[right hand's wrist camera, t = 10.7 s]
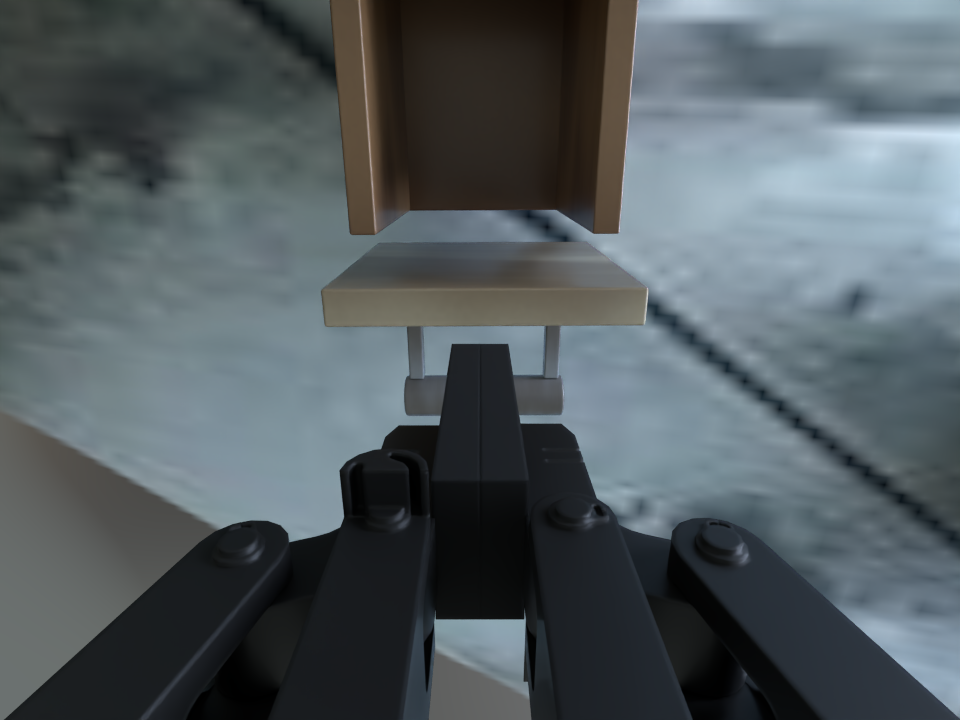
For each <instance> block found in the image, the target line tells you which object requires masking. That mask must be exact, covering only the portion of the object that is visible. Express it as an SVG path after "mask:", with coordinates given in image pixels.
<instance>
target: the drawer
mask: <svg viewBox="0 0 960 720" xmlns="http://www.w3.org/2000/svg"><path fill="white" fill-rule="evenodd" d="M638 1H639V0H330V11H331V22H332V34H333V45H334V57H335V68H336V80H337V91H338V103H339V114H340V126H341V137H342V149H343V160H344V172H345V183H346V195H347V206H348V218H349V229H350V234H351V235H375V234H377V233H378V232H380V231H381V230H383V229H384V228H385V227H387V226H388V225H390V224H391V223H393V222H394V221H395V220H397V219H398V218H400V217H401V216H402V215H404V214H405V213H407V212H408V211H427V210H558V211H559V212H561V213H562V214H564V215H565V216H567V217H568V218H570V219H572V220H573V221H575V222H576V223H578V224H579V225H581V226H583V227H584V228H586V229H587V230H589V231H590V232H592V233H594V234H618V233H619V231H620V219H621V207H622V195H623V183H624V171H625V159H626V147H627V135H628V122H629V110H630V98H631V86H632V74H633V62H634V50H635V38H636V25H637V13H638ZM648 291H649V289H648V287H646V286H645V285H644V284H642V283H641V282H640V281H638V280H637V279H636V278H634V277H633V276H632V275H630V274H629V273H628V272H626V271H625V270H624V269H622V268H621V267H620V266H618V265H617V264H616V263H614V262H613V261H612V260H610V259H609V258H608V257H607V256H605V255H604V254H603V253H601V252H600V251H599V250H597V249H596V248H595V247H593V246H592V245H591V244H589V243H588V242H464V243H378V244H377V245H376V246H375V247H373V248H372V249H371V250H370V251H368V252H367V253H366V254H365V255H364V256H362V257H361V258H360V259H359V260H357V261H356V262H355V263H354V264H352V265H351V266H350V267H349V268H348V269H346V270H345V271H344V272H343V273H341V274H340V275H339V276H338V277H336V278H335V279H334V280H333V281H332V282H330V283H329V284H328V285H327V286H325V287H324V288H323V289H322V290H321V295H322V305H323V314H324V323H325V326H327V327H392V326H407V336H408V354H409V373H410V376H407V377H406V380H405V388H404V404H405V412H406V414H407V415H408V416H441V411H442V405H443V398H444V392H445V385H446V379H447V375H425V358H424V335H423V326H544V353H543V375H513V379H514V385H515V392H516V398H517V405H518V411H519V415H561V414H562V412H563V408H564V385H563V379H562V377H561V375H558V374H559V353H560V333H561V326H590V325H644V324H645V319H646V310H647V300H648Z"/></svg>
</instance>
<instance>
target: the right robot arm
mask: <svg viewBox="0 0 960 720" xmlns="http://www.w3.org/2000/svg"><path fill="white" fill-rule="evenodd" d="M340 480H341V490H342V500H343V509H344V519H343V522H342V525H341V527H340V528H338V529H336V530H334V531H332V532H329V533H327V534H323V535H320V536H316V537H312V538H307V539H303V540H298V541H293V542H289V538H288V533H287V532H286V531H285V530H284V529H283V528H282V527H281V525H278V524H275V523H272V522H269V521H246V522H240V523H236V524H232V525H230V526H227V527H225V528H222V529H220V530H218V531H215V532H214V533H212V534H211V535H209V536H208V537H207V538H205V539H204V540H202V541H201V542H199V543H198V544H197V545H196V546H195V547H194V548H193V549H192V550H191V551H190V552H188V553H187V554H186V555H185V556H184V557H183V558H182V559H181V560H180V561H179V562H177V563H176V564H175V565H174V566H173V567H172V568H171V569H170V570H169V571H168V572H166V573H165V574H164V575H163V576H162V577H161V578H160V579H159V580H158V581H157V582H155V583H154V584H153V585H152V586H151V587H150V588H149V589H148V590H147V591H146V592H144V593H143V594H142V595H141V596H140V597H139V598H138V599H137V600H136V601H134V602H133V603H132V604H131V605H130V606H129V607H128V608H127V609H126V610H125V611H123V612H122V613H121V614H120V615H119V616H118V617H117V618H116V619H115V620H114V621H112V622H111V623H110V624H109V625H108V626H107V627H106V628H105V629H104V630H103V631H101V632H100V633H99V634H98V635H97V636H96V637H95V638H94V639H93V640H92V641H90V642H89V643H88V644H87V645H86V646H85V647H84V648H83V649H82V650H81V651H79V652H78V653H77V654H76V655H75V656H74V657H73V658H72V659H71V660H69V661H68V662H67V663H66V664H65V665H64V666H63V667H62V668H61V669H60V670H58V671H57V672H56V673H55V674H54V675H53V676H52V677H51V678H50V679H49V680H47V681H46V682H45V683H44V684H43V685H42V686H41V687H40V688H39V689H38V690H36V691H35V692H34V693H33V694H32V695H31V696H30V697H29V698H28V699H27V700H25V701H24V702H23V703H22V704H21V705H20V706H19V707H18V708H17V709H15V710H14V711H13V712H12V713H11V714H10V715H9V716H8V717H7V718H6V719H4V720H429V708H430V697H431V686H432V675H433V664H434V653H435V632H434V619H435V610H436V619H524V610H525V616H526V632H525V659H524V682H528V685H529V697H530V708H531V718H532V720H960V719H959V718H958V717H957V716H956V715H955V714H954V713H953V712H952V711H950V710H949V709H948V708H947V707H946V706H945V705H944V704H943V703H942V702H940V701H939V700H938V699H937V698H936V697H935V696H934V695H933V694H932V693H930V692H929V691H928V690H927V689H926V688H925V687H924V686H923V685H922V684H920V683H919V682H918V681H917V680H916V679H915V678H914V677H913V676H912V675H910V674H909V673H908V672H907V671H906V670H905V669H904V668H903V667H902V666H900V665H899V664H898V663H897V662H896V661H895V660H894V659H893V658H892V657H890V656H889V655H888V654H887V653H886V652H885V651H884V650H883V649H882V648H880V647H879V646H878V645H877V644H876V643H875V642H874V641H873V640H872V639H870V638H869V637H868V636H867V635H866V634H865V633H864V632H863V631H862V630H860V629H859V628H858V627H857V626H856V625H855V624H854V623H853V622H852V621H851V620H849V619H848V618H847V617H846V616H845V615H844V614H843V613H842V612H841V611H839V610H838V609H837V608H836V607H835V606H834V605H833V604H832V603H831V602H829V601H828V600H827V599H826V598H825V597H824V596H823V595H822V594H821V593H819V592H818V591H817V590H816V589H815V588H814V587H813V586H812V585H811V584H809V583H808V582H807V581H806V580H805V579H804V578H803V577H802V576H801V575H799V574H798V573H797V572H796V571H795V570H794V569H793V568H792V567H791V566H789V565H788V564H787V563H786V562H785V561H784V560H783V559H782V558H781V557H779V556H778V555H777V554H776V553H775V552H774V551H773V550H772V549H771V548H769V547H768V546H767V545H766V544H765V543H764V542H763V541H762V540H761V539H759V538H758V537H756V536H755V535H753V534H752V533H750V532H749V531H748V530H746V529H744V528H742V527H739V526H737V525H734V524H732V523H729V522H726V521H722V520H717V519H711V518H695V519H690V520H687V521H684V522H681V523H679V524H678V526H677V527H676V528H675V529H674V530H673V531H672V538H671V540H668V539H664V538H659V537H654V536H650V535H645V534H642V533H638V532H635V531H631V530H629V529H627V528H625V527H622V526H620V525H619V524H618V521H617V518H616V516H615V515H614V513H613V512H612V510H611V509H610V508H609V506H607V505H606V504H604V503H603V502H601V501H600V500H598V499H597V498H596V495H595V492H594V489H593V486H592V483H591V481H590V478H589V475H588V472H587V469H586V466H585V463H584V462H583V457H582V455H581V452H580V451H579V446H578V443H577V440H576V437H575V435H574V434H573V433H572V432H570V431H569V430H568V429H567V428H566V427H564V426H563V425H562V424H520V418H519V411H518V405H517V398H516V392H515V385H514V379H513V372H512V366H511V360H510V353H509V347H508V344H452V347H451V353H450V360H449V366H448V372H447V379H446V385H445V392H444V398H443V405H442V411H441V418H440V424H439V425H399V426H398V427H396V428H395V429H394V430H393V431H392V432H391V433H389V434H388V435H387V436H386V437H385V439H384V442H383V445H382V448H381V449H379V450H372V451H369V452H366V453H362V454H359V455H357V456H356V457H354V458H352V459H350V460H349V461H347V462H346V463H345V464H344V466H343V467H342V468H341V469H340Z"/></svg>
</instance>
